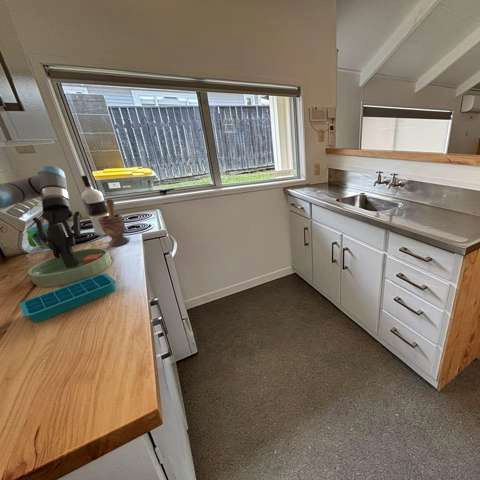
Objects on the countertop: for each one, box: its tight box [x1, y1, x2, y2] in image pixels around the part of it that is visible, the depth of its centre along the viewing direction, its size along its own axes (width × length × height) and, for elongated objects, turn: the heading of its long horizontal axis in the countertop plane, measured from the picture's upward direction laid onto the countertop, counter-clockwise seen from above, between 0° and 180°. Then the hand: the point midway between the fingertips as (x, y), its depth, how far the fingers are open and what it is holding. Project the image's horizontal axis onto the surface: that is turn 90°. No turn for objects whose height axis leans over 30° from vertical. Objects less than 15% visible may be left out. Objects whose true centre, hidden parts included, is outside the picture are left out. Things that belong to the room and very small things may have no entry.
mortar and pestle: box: [98, 198, 130, 247], centre depth 118 cm, size 12×9×20 cm
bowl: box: [27, 247, 113, 288], centre depth 94 cm, size 22×22×5 cm
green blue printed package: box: [25, 223, 50, 249], centre depth 119 cm, size 16×10×10 cm
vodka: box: [80, 175, 109, 237], centre depth 130 cm, size 9×9×30 cm
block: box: [82, 254, 102, 265], centre depth 96 cm, size 4×4×4 cm
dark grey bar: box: [48, 223, 78, 268], centre depth 94 cm, size 3×3×16 cm
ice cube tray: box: [19, 272, 117, 323], centre depth 77 cm, size 12×20×3 cm, turn 143°
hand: (63, 255), depth 92 cm, fingers closed on dark grey bar, 3 cm apart
